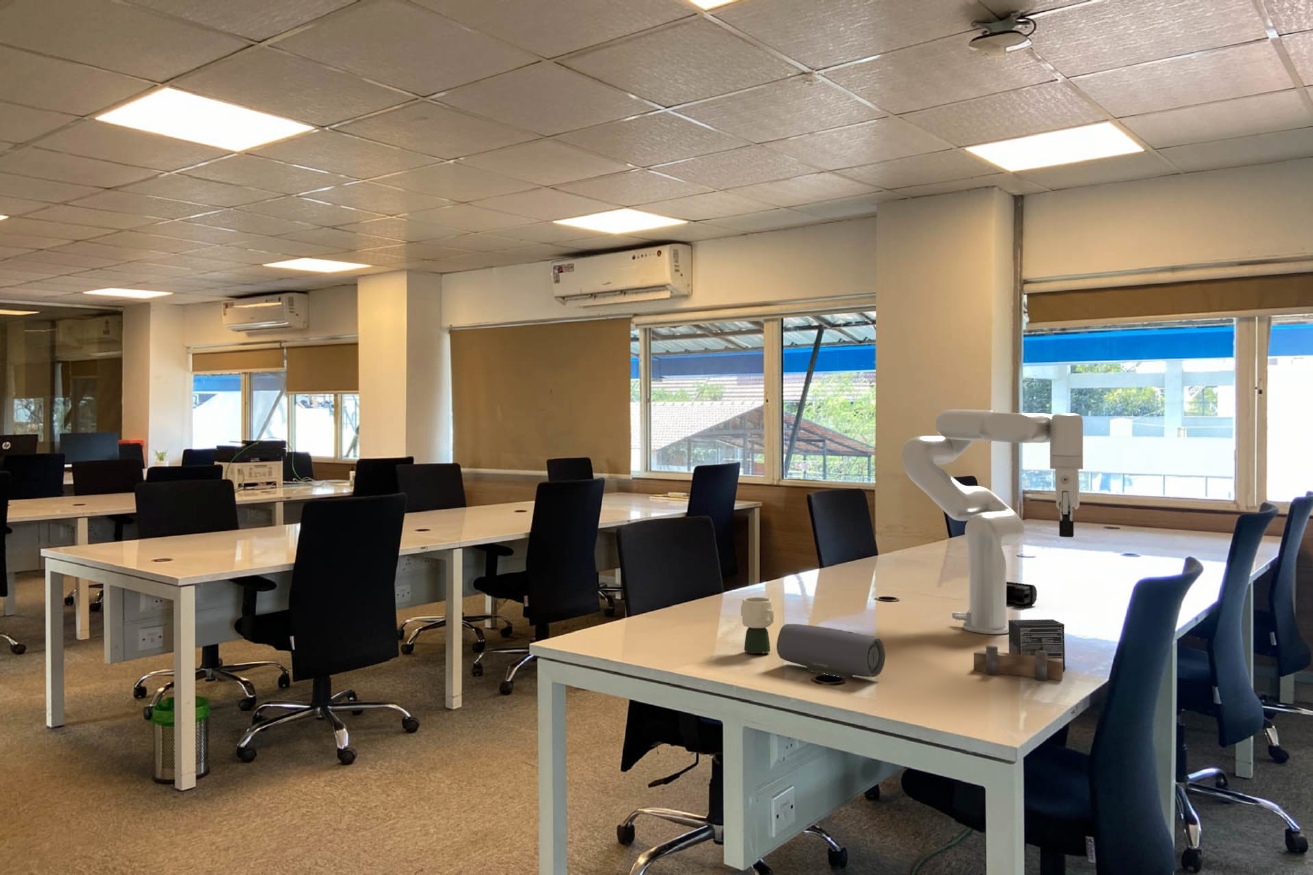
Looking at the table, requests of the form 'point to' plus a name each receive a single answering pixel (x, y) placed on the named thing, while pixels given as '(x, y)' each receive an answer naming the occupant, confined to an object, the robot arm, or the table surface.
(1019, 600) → the end cap
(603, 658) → the table surface
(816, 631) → the bluetooth speaker
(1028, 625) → the small box
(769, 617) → the character mug
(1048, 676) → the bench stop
